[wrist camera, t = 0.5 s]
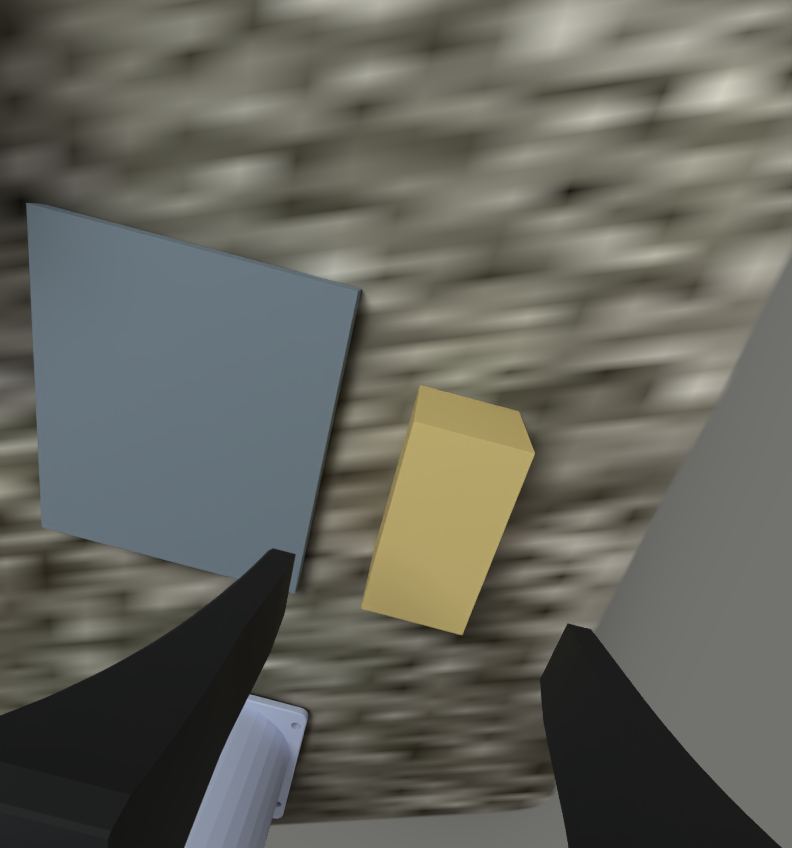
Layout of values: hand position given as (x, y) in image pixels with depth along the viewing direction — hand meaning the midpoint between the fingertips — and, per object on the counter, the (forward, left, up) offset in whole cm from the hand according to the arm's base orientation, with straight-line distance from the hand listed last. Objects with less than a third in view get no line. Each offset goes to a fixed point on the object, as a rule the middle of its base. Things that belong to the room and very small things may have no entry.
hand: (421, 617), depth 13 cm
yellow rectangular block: (-1, -1, -9) cm, 9 cm away
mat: (-1, +10, -8) cm, 13 cm away
